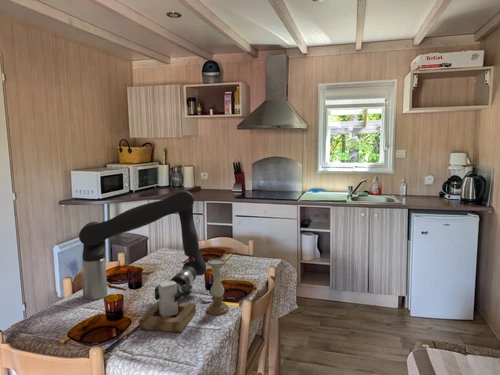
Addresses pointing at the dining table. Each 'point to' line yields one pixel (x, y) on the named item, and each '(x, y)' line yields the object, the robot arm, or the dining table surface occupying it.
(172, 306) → the skincare box
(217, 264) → the candle holder
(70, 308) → the dining table surface
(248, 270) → the dining table surface
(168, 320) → the walnut holder
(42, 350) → the dining table surface
